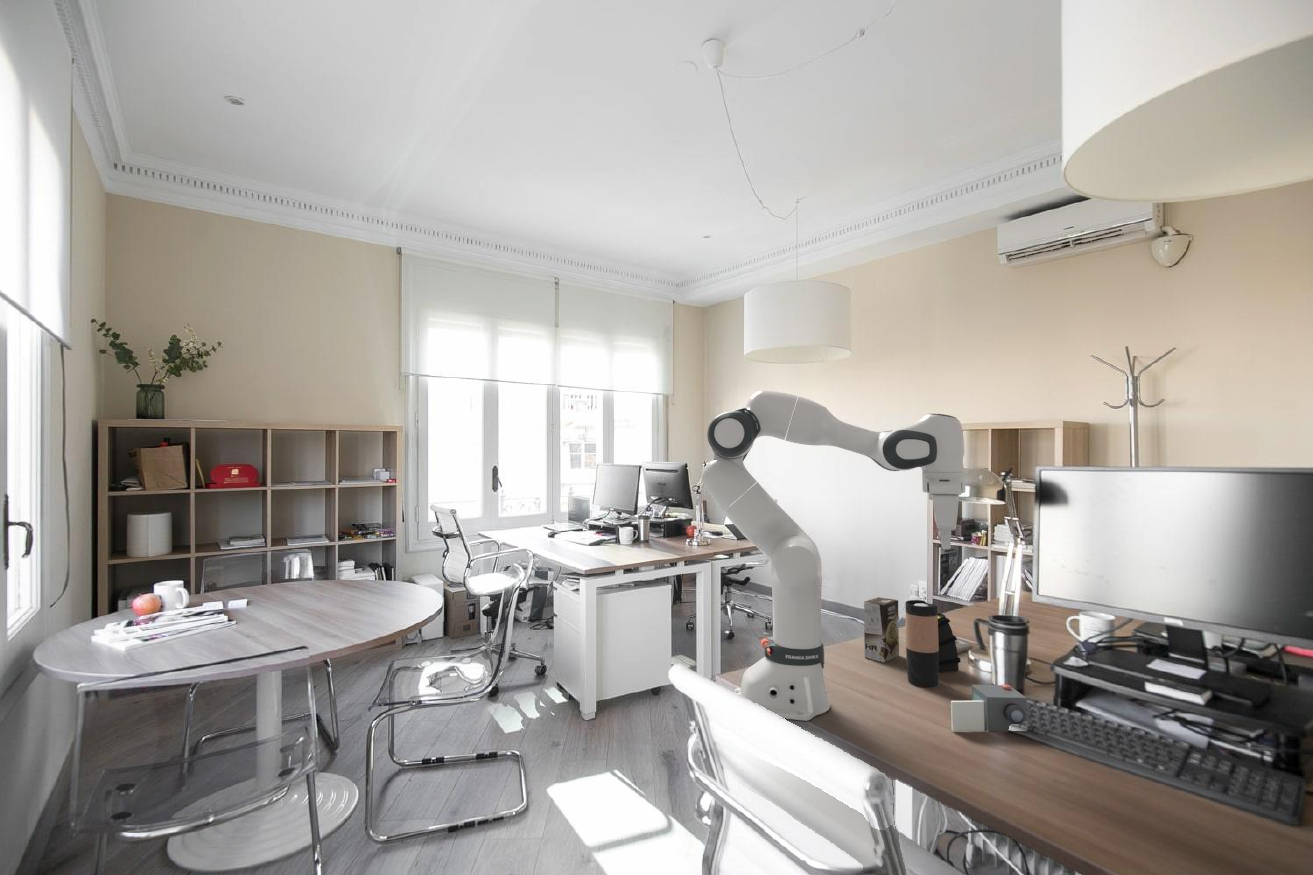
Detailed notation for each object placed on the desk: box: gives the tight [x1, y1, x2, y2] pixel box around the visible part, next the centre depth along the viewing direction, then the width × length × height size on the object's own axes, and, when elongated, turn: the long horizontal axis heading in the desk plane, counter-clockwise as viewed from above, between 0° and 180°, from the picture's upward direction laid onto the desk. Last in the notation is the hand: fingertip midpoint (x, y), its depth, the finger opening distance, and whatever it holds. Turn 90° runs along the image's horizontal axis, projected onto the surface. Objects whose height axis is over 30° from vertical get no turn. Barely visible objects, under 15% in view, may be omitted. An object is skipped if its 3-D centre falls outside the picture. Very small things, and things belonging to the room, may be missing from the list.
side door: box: [950, 699, 988, 732], centre depth 126 cm, size 1×7×6 cm, turn 91°
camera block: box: [971, 684, 1028, 733], centre depth 128 cm, size 8×9×8 cm
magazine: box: [937, 612, 961, 673], centre depth 162 cm, size 4×13×15 cm, turn 95°
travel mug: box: [905, 599, 940, 689], centre depth 154 cm, size 8×8×20 cm
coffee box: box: [863, 596, 900, 663], centre depth 174 cm, size 9×6×16 cm
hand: (945, 545), depth 137 cm, fingers open, 8 cm apart
